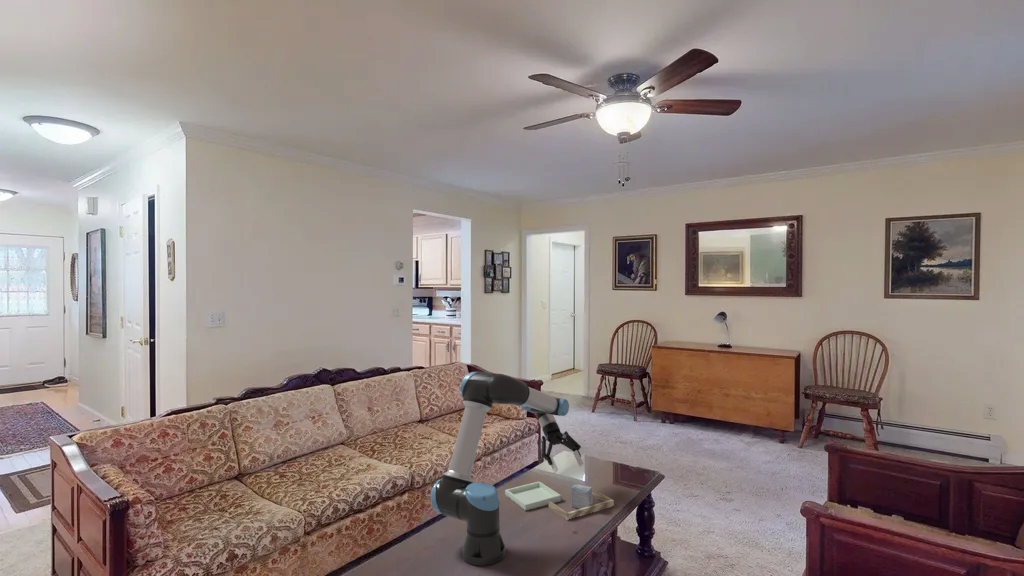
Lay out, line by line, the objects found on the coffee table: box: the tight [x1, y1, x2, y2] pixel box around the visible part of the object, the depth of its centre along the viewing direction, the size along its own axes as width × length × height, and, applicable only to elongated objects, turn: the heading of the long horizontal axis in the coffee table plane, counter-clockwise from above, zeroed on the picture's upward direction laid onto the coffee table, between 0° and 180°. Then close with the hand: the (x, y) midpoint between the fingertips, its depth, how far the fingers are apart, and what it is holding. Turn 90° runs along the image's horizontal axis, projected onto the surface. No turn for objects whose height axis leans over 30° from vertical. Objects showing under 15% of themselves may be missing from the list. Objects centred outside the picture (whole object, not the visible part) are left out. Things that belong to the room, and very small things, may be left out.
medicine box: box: [570, 483, 594, 510], centre depth 209 cm, size 8×4×9 cm, turn 58°
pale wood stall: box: [548, 488, 615, 521], centre depth 209 cm, size 24×14×2 cm, turn 119°
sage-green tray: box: [504, 481, 562, 512], centre depth 219 cm, size 18×18×2 cm
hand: (569, 468), depth 217 cm, fingers open, 13 cm apart
